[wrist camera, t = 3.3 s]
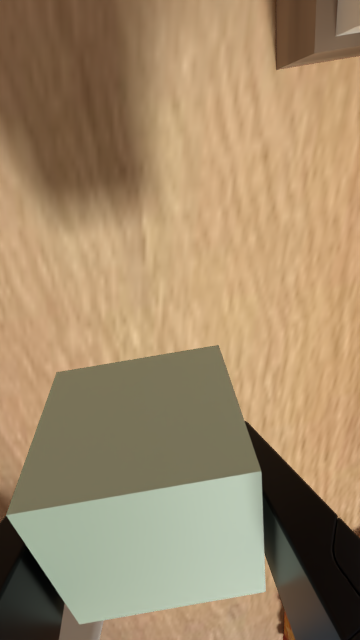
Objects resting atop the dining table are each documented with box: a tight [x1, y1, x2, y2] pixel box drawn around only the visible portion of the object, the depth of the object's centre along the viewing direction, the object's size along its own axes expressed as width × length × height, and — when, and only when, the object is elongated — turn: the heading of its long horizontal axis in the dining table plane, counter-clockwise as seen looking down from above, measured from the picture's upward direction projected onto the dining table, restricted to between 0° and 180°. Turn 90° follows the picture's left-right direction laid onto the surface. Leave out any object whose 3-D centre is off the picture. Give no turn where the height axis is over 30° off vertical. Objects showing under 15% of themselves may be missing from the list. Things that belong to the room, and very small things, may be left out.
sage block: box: [6, 345, 266, 625], centre depth 9 cm, size 4×4×4 cm
